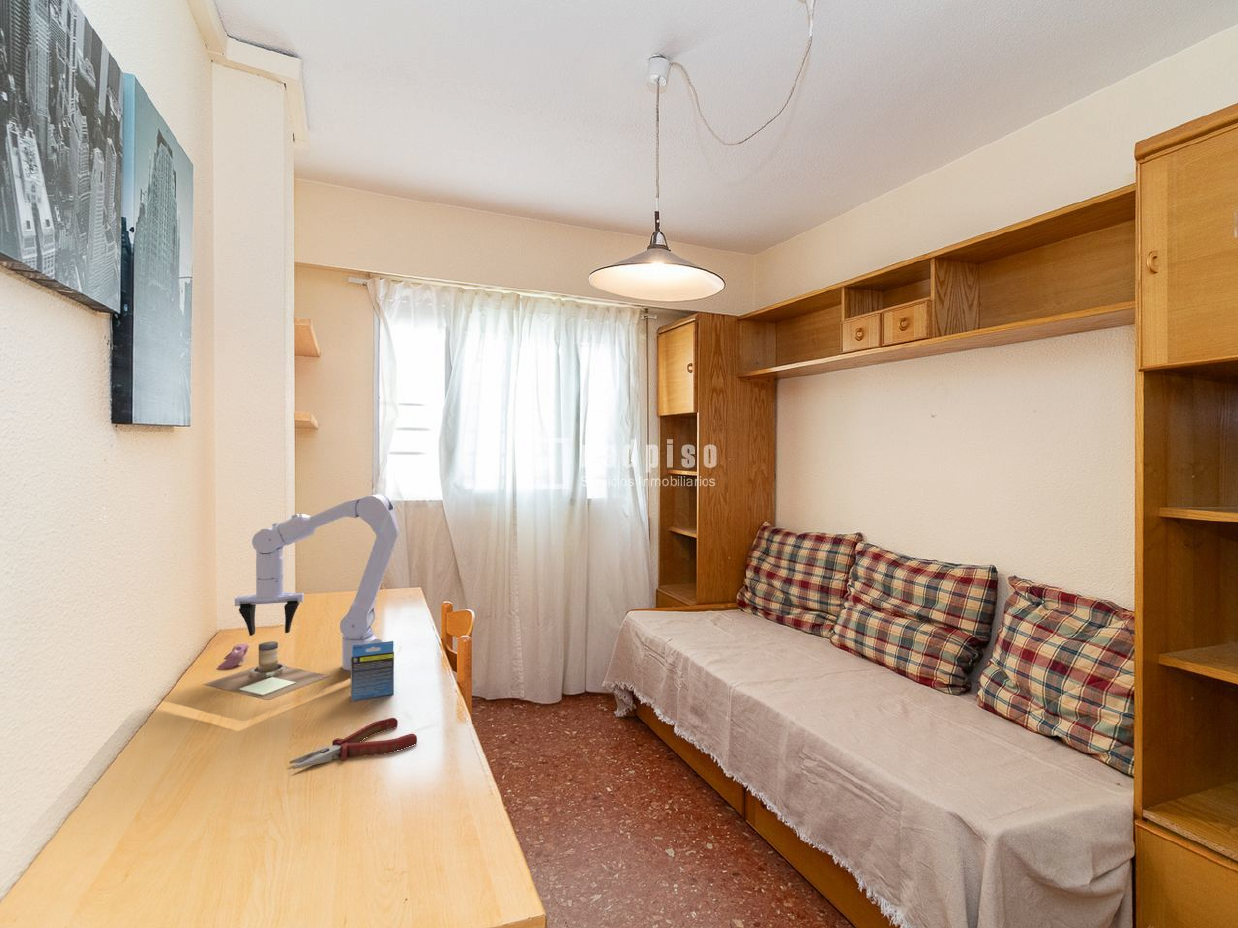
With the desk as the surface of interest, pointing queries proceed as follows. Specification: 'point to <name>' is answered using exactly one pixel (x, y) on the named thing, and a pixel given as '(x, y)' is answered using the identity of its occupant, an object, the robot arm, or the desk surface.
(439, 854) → the desk surface
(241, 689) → the sage pad
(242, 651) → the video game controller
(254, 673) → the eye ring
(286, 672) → the walnut board
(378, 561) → the robot arm
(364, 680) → the label tape box
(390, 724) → the pliers
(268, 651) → the beech pin
